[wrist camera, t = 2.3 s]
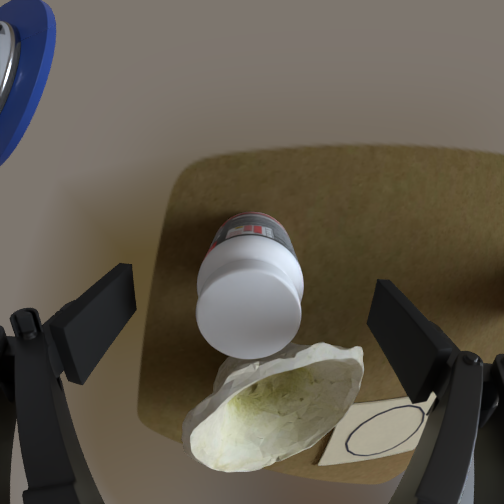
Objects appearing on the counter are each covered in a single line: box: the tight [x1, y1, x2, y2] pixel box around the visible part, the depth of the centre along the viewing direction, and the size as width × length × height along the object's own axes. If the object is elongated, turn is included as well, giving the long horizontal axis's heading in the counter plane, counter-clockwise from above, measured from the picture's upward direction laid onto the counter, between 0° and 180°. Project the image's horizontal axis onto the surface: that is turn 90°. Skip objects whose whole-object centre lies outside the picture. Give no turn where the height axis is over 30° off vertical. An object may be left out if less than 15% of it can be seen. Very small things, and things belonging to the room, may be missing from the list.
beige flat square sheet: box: [318, 392, 436, 466], centre depth 29 cm, size 14×16×1 cm
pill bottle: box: [196, 212, 304, 359], centre depth 17 cm, size 6×6×10 cm
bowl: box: [181, 342, 364, 472], centre depth 20 cm, size 15×14×10 cm
